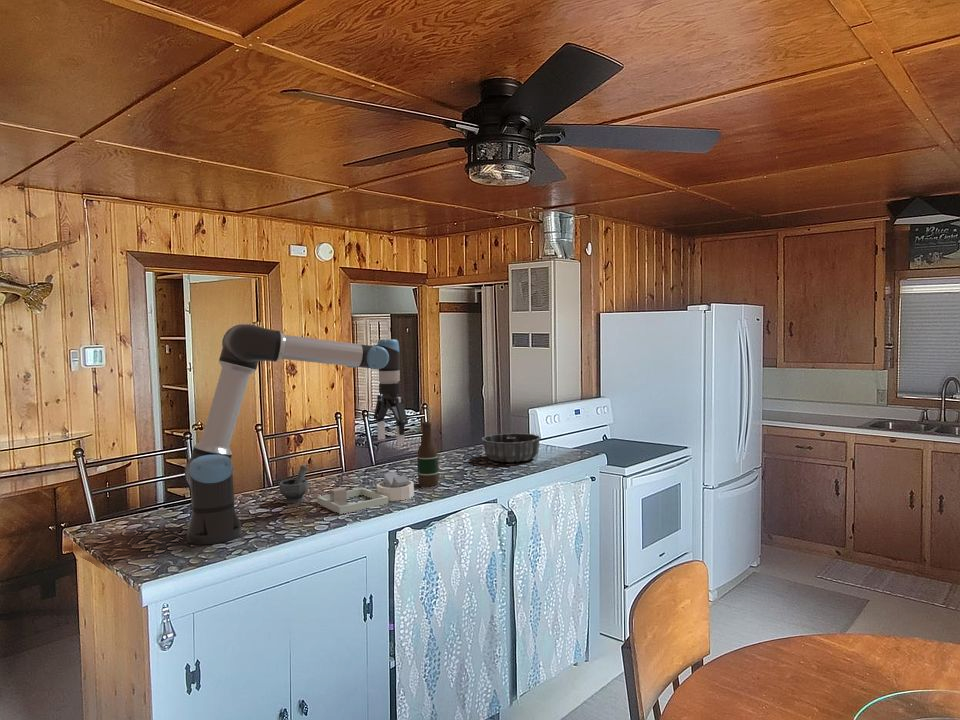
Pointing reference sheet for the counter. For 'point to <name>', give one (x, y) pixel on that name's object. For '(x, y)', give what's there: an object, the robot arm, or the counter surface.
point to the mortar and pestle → (295, 487)
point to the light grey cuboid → (389, 479)
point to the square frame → (376, 501)
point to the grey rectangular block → (400, 481)
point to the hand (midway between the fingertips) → (390, 441)
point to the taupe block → (338, 496)
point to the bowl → (396, 491)
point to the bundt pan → (511, 447)
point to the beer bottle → (427, 458)
